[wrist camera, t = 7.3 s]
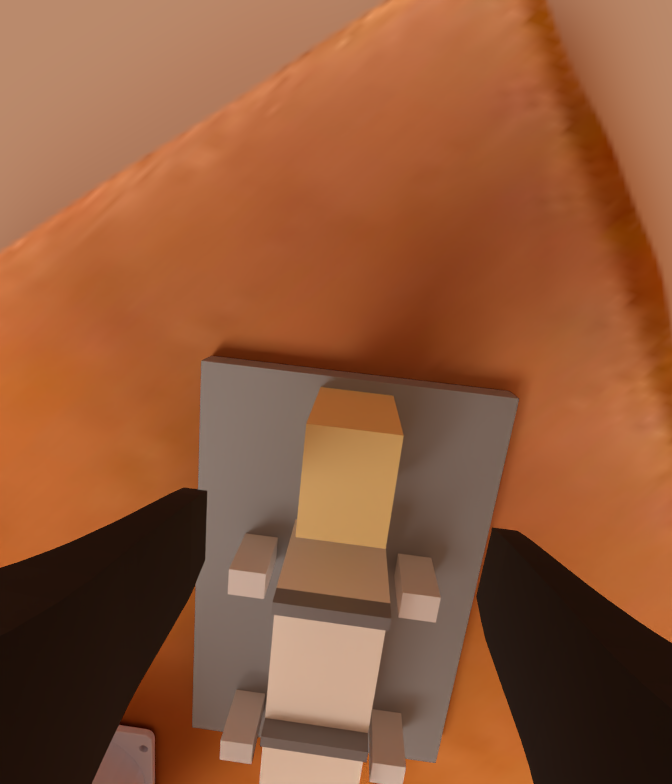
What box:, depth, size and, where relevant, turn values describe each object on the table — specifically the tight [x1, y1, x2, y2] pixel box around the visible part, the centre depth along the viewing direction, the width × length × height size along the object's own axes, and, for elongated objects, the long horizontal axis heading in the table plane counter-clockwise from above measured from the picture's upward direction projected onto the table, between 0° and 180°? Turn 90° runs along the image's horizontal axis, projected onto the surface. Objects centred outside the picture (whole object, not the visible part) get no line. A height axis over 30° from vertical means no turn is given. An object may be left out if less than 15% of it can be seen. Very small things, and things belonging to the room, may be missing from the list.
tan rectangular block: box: [296, 387, 404, 549], centre depth 16 cm, size 4×3×5 cm
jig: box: [192, 356, 519, 784], centre depth 19 cm, size 20×13×4 cm, turn 174°
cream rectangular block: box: [259, 519, 392, 784], centre depth 18 cm, size 12×4×5 cm, turn 174°
